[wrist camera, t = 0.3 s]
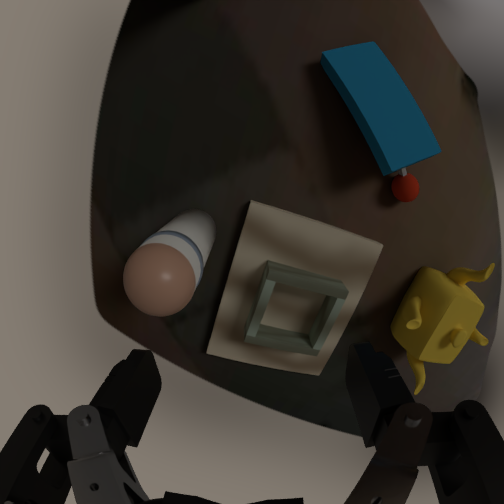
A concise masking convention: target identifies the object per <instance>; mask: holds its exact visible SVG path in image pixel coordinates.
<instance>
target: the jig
mask: <svg viewBox="0 0 504 504" xmlns="http://www.w3.org/2000/svg"><path fill="white" fill-rule="evenodd" d="M382 247H383V245H382V244H381V243H379V242H377V241H374V240H371V239H369V238H366V237H363V236H360V235H357V234H355V233H352V232H349V231H346V230H343V229H340V228H337V227H334V226H332V225H329V224H326V223H323V222H320V221H317V220H314V219H310V218H307V217H304V216H301V215H298V214H295V213H292V212H289V211H286V210H282V209H279V208H276V207H273V206H269V205H266V204H263V203H259V202H256V201H253V200H251V201H250V205H249V208H248V211H247V215H246V218H245V221H244V224H243V228H242V231H241V234H240V238H239V241H238V244H237V248H236V251H235V254H234V258H233V261H232V265H231V268H230V271H229V275H228V278H227V282H226V285H225V288H224V292H223V295H222V299H221V302H220V306H219V309H218V313H217V316H216V320H215V323H214V327H213V330H212V334H211V337H210V341H209V344H208V348H207V354H211V355H215V356H219V357H223V358H227V359H232V360H236V361H241V362H245V363H250V364H255V365H260V366H265V367H270V368H275V369H281V370H286V371H292V372H299V373H305V374H312V375H319V374H320V373H321V371H322V369H323V368H324V366H325V364H326V363H327V361H328V359H329V357H330V356H331V354H332V352H333V350H334V348H335V347H336V345H337V343H338V341H339V339H340V337H341V335H342V334H343V332H344V330H345V328H346V326H347V324H348V322H349V320H350V318H351V316H352V314H353V312H354V310H355V308H356V306H357V304H358V302H359V300H360V298H361V296H362V293H363V291H364V289H365V287H366V285H367V283H368V280H369V278H370V276H371V274H372V271H373V269H374V267H375V264H376V262H377V260H378V257H379V255H380V252H381V250H382Z"/></svg>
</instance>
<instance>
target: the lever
mask: <svg viewBox="0 0 504 504" xmlns="http://www.w3.org/2000/svg"><path fill="white" fill-rule="evenodd" d="M320 63H321V65H322V67H323V69H324V71H325V72H326V74H327V75H328V77H329V78H330V80H331V81H332V83H333V84H334V86H335V87H336V89H337V91H338V92H339V94H340V95H341V97H342V99H343V100H344V102H345V104H346V105H347V107H348V109H349V110H350V112H351V114H352V115H353V117H354V119H355V121H356V123H357V124H358V126H359V128H360V130H361V132H362V134H363V135H364V137H365V139H366V141H367V143H368V145H369V147H370V149H371V151H372V153H373V155H374V157H375V159H376V161H377V163H378V165H379V168H380V170H381V172H382V174H383V176H385V175H388V174H390V173H393V172H395V171H398V175H396V176H395V177H394V179H393V181H392V185H391V187H392V192H393V194H394V196H395V197H396V198H397V199H398V200H400V201H402V202H410V201H413V200H414V199H415V198H416V197H417V195H418V193H419V184H418V181H417V180H416V178H415V177H414V176H413V175H411V174H409V173H407V172H406V168H405V167H407V166H410V165H412V164H415V163H417V162H420V161H422V160H425V159H427V158H430V157H432V156H434V155H436V154H438V153H440V152H441V149H440V147H439V145H438V143H437V141H436V139H435V137H434V135H433V133H432V131H431V129H430V127H429V125H428V123H427V121H426V119H425V117H424V116H423V114H422V112H421V110H420V108H419V107H418V105H417V103H416V102H415V100H414V98H413V97H412V95H411V93H410V92H409V90H408V88H407V87H406V85H405V84H404V82H403V81H402V79H401V78H400V76H399V75H398V73H397V72H396V70H395V69H394V67H393V66H392V65H391V63H390V62H389V60H388V59H387V58H386V56H385V55H384V54H383V52H382V51H381V50H380V48H379V47H378V46H377V45H376V43H375V42H367V43H362V44H356V45H351V46H346V47H342V48H337V49H333V50H329V51H325V52H323V53H322V57H321V62H320Z"/></svg>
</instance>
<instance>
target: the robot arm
mask: <svg viewBox="0 0 504 504" xmlns="http://www.w3.org/2000/svg"><path fill="white" fill-rule="evenodd" d="M161 384H162V382H161V376H160V374H159V371H158V368H157V365H156V362H155V359H154V356H153V353H152V352H151V351H150V350H140V349H133V350H132V351H131V353H130V354H129V356H128V357H127V359H126V360H122V361H120V362H119V363H118V364H116V365H115V366H114V367H113V369H112V370H111V372H110V373H109V376H107V378H106V379H105V382H104V383H103V384H102V385H101V387H100V388H99V390H98V391H97V393H96V394H95V396H94V398H93V399H92V401H91V402H90V404H89V405H81V406H78V407H76V408H74V409H73V410H72V411H71V412H70V413H69V415H54V414H53V413H52V411H51V410H50V408H49V407H47V406H45V405H36V406H33V407H31V408H30V409H29V410H28V411H27V413H26V414H25V415H24V417H23V418H22V420H21V421H20V423H19V424H18V426H17V427H16V429H15V430H14V432H13V433H12V435H11V436H10V438H9V439H8V441H7V443H6V444H5V446H4V447H3V449H2V451H1V452H0V504H64V503H65V501H66V498H67V496H68V493H69V491H70V488H71V486H72V488H73V492H74V496H75V499H76V503H77V504H220V503H216V502H213V501H210V500H207V499H204V498H201V497H198V496H191V495H184V494H178V493H172V492H167V491H166V492H165V494H164V498H159V499H152V500H150V499H149V498H148V496H147V495H146V493H145V492H144V491H143V489H142V487H141V485H140V483H139V481H138V479H137V477H136V475H135V472H134V470H133V468H132V466H131V463H130V461H129V458H128V456H127V454H126V452H125V448H126V446H127V445H128V446H133V447H137V446H138V444H139V441H140V439H141V437H142V434H143V432H144V429H145V427H146V424H147V422H148V419H149V417H150V415H151V412H152V410H153V407H154V405H155V402H156V400H157V398H158V395H159V393H160V391H161ZM346 385H347V389H348V392H349V395H350V398H351V401H352V404H353V408H354V411H355V414H356V417H357V420H358V424H359V427H360V430H361V434H362V437H363V440H364V444H365V447H366V448H367V447H372V446H375V448H376V453H375V454H374V456H373V458H372V459H371V461H370V463H369V465H368V466H367V468H366V470H365V471H364V473H363V475H362V477H361V478H360V480H359V481H358V483H357V485H356V486H355V488H354V489H353V491H352V492H351V494H350V496H349V497H348V498H347V500H346V501H345V503H344V504H405V503H406V500H407V498H408V496H409V494H410V492H411V489H412V487H413V485H414V483H415V480H416V478H417V475H418V471H419V470H418V469H417V466H428V467H429V470H430V474H431V477H432V480H433V483H434V487H435V490H436V493H437V497H438V500H439V504H504V440H503V438H502V437H501V435H500V433H499V431H498V430H497V428H496V426H495V424H494V422H493V421H492V419H491V417H490V416H489V414H488V412H487V410H486V409H485V408H484V406H483V405H482V404H481V403H479V402H477V401H474V400H465V401H462V402H460V403H459V404H458V405H457V406H456V408H455V409H454V411H452V412H431V410H430V409H429V408H428V407H427V406H425V405H423V404H421V403H417V402H415V401H414V399H413V397H412V395H411V393H410V391H409V390H408V388H407V386H406V384H405V382H404V380H403V379H402V377H401V376H400V373H399V372H398V370H397V369H396V366H395V365H394V363H393V361H392V359H391V358H390V357H388V356H387V355H386V354H384V353H383V352H377V353H376V352H375V351H374V349H373V347H372V345H371V343H370V342H361V343H354V344H351V345H350V347H349V354H348V361H347V368H346ZM45 448H46V449H47V450H48V451H49V452H50V454H49V456H48V457H47V459H46V461H45V463H44V465H43V467H42V469H41V471H40V473H38V471H37V463H38V460H39V459H40V457H41V455H42V453H43V451H44V449H45ZM250 504H304V503H303V498H294V499H274V500H264V501H260V502H255V503H250Z"/></svg>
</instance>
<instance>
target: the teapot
mask: <svg viewBox="0 0 504 504" xmlns="http://www.w3.org/2000/svg"><path fill="white" fill-rule="evenodd" d="M494 265H495V264H494V263H492V264H491V265H490V266H489V267H487V268H486V269H484V270H482V271H475V270H471V269H468V268H461V267H459V268H455V269H453V270H451V271H449V272H448V273H447V274H446V273H443V272H441V271H438V270H436V269H433V268H429V267H424V266H423V267H421V268H420V270H419V271H418V273H417V274H416V276H415V278H414V279H413V281H412V283H411V285H410V286H409V288H408V290H407V292H406V294H405V295H404V297H403V299H402V301H401V303H400V305H399V307H398V310H397V312H396V314H395V316H394V318H393V320H392V323H391V326H390V328H391V332H392V334H393V336H394V338H395V339H396V340H397V341H398V342H399V344H400V345H401V346H402V347H403V348H404V349H406V350H407V359H408V362H409V364H410V366H411V368H412V370H413V372H414V374H415V378H416V387H415V391H414V395H416V394H418V393H419V392H420V390H421V389H422V387H423V385H424V383H425V370H424V365H423V361H427V362H434V363H444V364H449V363H451V362H452V361H453V360H454V359H455V358H456V356H457V355H458V354H459V352H460V351H461V349H462V348H463V347H464V345H465V344H466V342H467V340H468V339H470V340H472V341H474V342H476V343H478V344H480V345H482V346H485V345H487V344H488V339H487V338H485V337H484V336H483V335H481V334H480V333H479V331H478V330H477V329H476V328H475V327H476V325H477V323H478V321H479V319H480V317H481V315H482V313H483V310H484V305H483V304H482V302H481V301H480V300H479V299H478V297H477V296H476V295H475V294H474V293H473V292H472V291H471V290H470V289H469V288H468V287H467V286H466V285H465V283H467V282H468V281H475V282H483V281H485V280H486V279H487V278H488V277H489V276H490V274H491V273H492V271H493V269H494Z"/></svg>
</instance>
